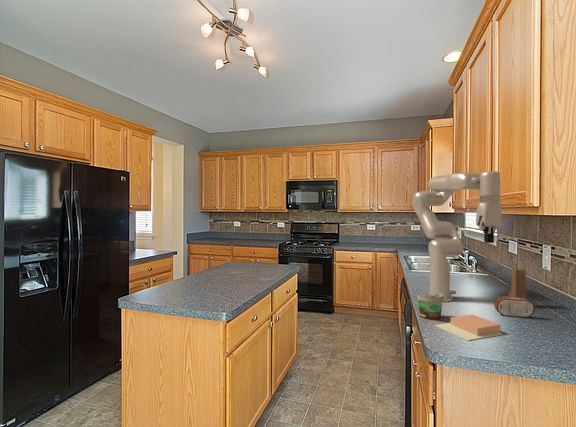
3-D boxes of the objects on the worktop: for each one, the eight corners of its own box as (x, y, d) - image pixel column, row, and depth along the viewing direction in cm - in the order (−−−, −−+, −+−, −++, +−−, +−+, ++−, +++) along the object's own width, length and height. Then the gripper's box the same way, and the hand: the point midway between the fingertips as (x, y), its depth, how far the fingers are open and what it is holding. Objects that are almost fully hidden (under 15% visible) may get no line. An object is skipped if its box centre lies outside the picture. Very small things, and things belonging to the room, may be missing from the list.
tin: (532, 316, 138) (532, 297, 137) (536, 319, 134) (536, 299, 134) (493, 313, 141) (494, 295, 141) (496, 315, 138) (496, 297, 138)
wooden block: (506, 301, 161) (507, 266, 160) (516, 301, 159) (517, 266, 159) (514, 306, 152) (515, 269, 152) (525, 307, 151) (526, 270, 150)
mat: (467, 320, 132) (467, 320, 132) (502, 334, 118) (502, 333, 118) (435, 326, 126) (435, 325, 126) (468, 341, 112) (468, 340, 112)
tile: (472, 314, 131) (450, 317, 126) (500, 324, 119) (477, 328, 115) (472, 320, 131) (450, 324, 126) (500, 331, 119) (477, 335, 115)
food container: (426, 322, 130) (426, 298, 130) (416, 317, 136) (416, 294, 136) (450, 319, 133) (451, 296, 133) (440, 314, 139) (440, 292, 139)
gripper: (493, 200, 140) (492, 241, 140) (469, 200, 135) (468, 242, 135) (510, 200, 133) (509, 243, 133) (485, 199, 128) (484, 244, 128)
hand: (488, 242), depth 134 cm, fingers closed
